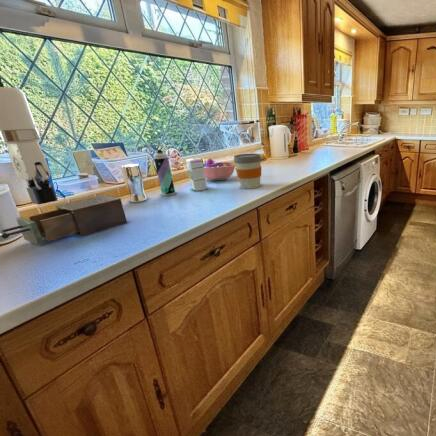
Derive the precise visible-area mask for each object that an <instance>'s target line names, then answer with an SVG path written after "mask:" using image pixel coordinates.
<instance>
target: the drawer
mask: <svg viewBox="0 0 436 436" xmlns="http://www.w3.org/2000/svg"><path fill="white" fill-rule="evenodd" d="M15 219H16V223H17V226H12V227H9V228H4V229H0V238H2V239H8V238H9V237H10V236H14V235H18V234H22V237H23V240H25V241H26V242H29V243H31V244H34V245H36V246H38V247H41V246H45V241H47V242H52V241H55V240H58V239H62V238H65V237H68V236H72V235H75V233H78V232H79V231H78V228H77V225H76V222H75V219H74V216H73V213H72V212H69V211H66V210H62V209H58V210H57V209H54V210H49V211H46V212H42V213H36V214H32V215H28V218H25V217H23V216H19V217H15ZM18 229H19V230H18ZM15 230H16V231H15ZM44 240H45V241H44Z"/></svg>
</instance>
